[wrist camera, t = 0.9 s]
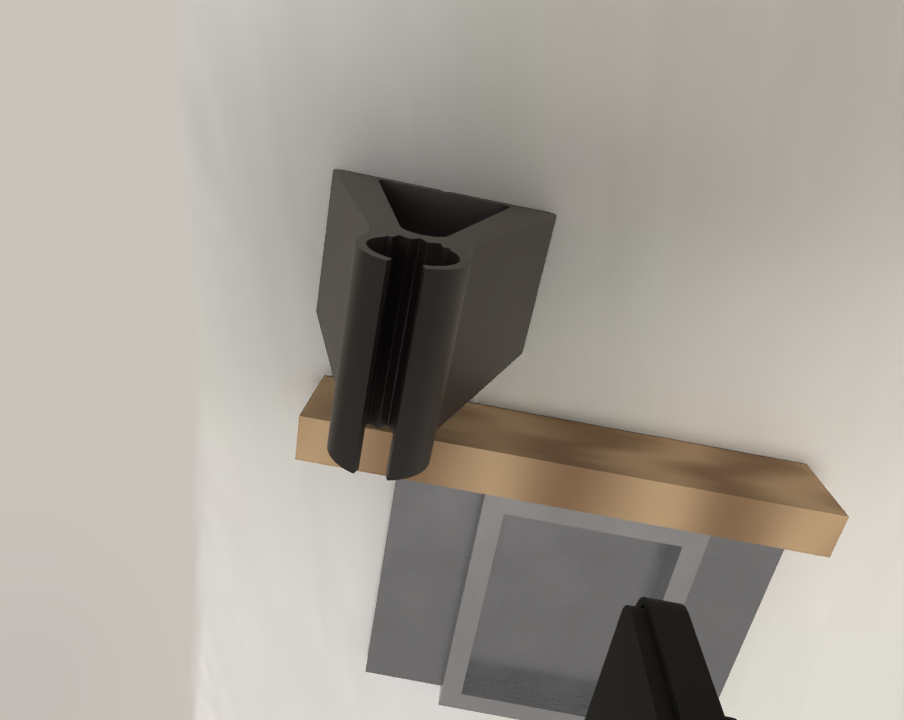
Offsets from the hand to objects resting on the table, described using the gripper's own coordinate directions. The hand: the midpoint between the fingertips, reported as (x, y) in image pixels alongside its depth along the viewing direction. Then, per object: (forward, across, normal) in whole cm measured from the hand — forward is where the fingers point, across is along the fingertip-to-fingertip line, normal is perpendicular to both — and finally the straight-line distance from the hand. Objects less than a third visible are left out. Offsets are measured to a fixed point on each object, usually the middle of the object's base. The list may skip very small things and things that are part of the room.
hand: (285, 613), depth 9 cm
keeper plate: (+20, -9, +15) cm, 27 cm away
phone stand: (+20, 0, 0) cm, 20 cm away
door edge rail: (+20, -7, +7) cm, 22 cm away
